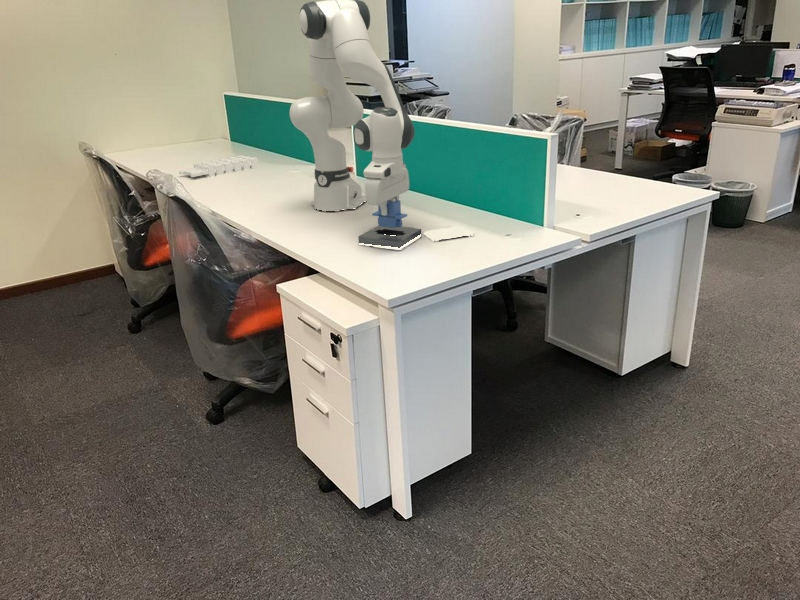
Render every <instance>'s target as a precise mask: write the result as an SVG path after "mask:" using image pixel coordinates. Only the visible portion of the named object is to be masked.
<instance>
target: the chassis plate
mask: <svg viewBox="0 0 800 600" xmlns="http://www.w3.org/2000/svg"><path fill="white" fill-rule="evenodd" d="M384 234H386V235H384ZM420 234H421V235H422V229H421V228H415V227H409V226H402V227H396V228H391V227H383V226H379V225H377V226H375V227H373V228H371V229H369V230H368V231H366V232H364V233H362V234H360V235H358V239H357V240H358V244H359V243H364V244H372V245H381V246H391V247H398V248H400V247H401V246H403V245H404V244H406V243H407V242H409V241H410V240H412V239H414V238H415V237H417V236H418V235H420ZM390 235H396V236H390Z"/></svg>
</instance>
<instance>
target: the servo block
mask: <svg viewBox="0 0 800 600" xmlns="http://www.w3.org/2000/svg"><path fill="white" fill-rule="evenodd" d="M386 206H387V209H389V214H388V215H386V216H384V215H382V214H381V208H380V206H379V205H377V211H375V212H373V213H371V214H372V215H371V216H373V217H378V218H377V224H378V225H377V226H383V227H391V228H396V227H403V219H404V218H406V217H408V213H402V210H401V209H402V208H401V200H400V199H399V200H396V199H395V198H392V199H390V200H388V201H387V204H386Z"/></svg>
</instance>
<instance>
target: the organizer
mask: <svg viewBox="0 0 800 600" xmlns="http://www.w3.org/2000/svg"><path fill="white" fill-rule="evenodd" d="M192 165H193V168H190V169H183V170H179V171H178V172H179V175H185V176H186V175H187V176H189V177H190V178H194V177H199V176H202V175H205V176H204V177H207V176H209V177H208V178H212V177H211V176H214V177H216V176H217V175H219V176H221V175H220V174H223V175H225V173H228V174H231V173H230V172H233V171H238V172H241V171H240V170H242V169H243V170H242V171H246V170H245V169H248V170H251V169H252V168H253V169H257V168H256V167H258V168H259V160H258V157H253V156H248V155H247V156H246V155H237V156H231V157H225V158H220V159H214V160H210V161H204V162H203V161H202V162H198V163H193V164H192ZM233 173H234V172H233Z"/></svg>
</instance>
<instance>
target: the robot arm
mask: <svg viewBox="0 0 800 600" xmlns="http://www.w3.org/2000/svg"><path fill="white" fill-rule="evenodd" d="M298 20H299V27H300V29H301V31H302V34H303V35H304V36H305V37H306V38H308V39H309V43H308V46H309V47H308V49H309V51H308V58H309V60H308V61H309V77H310V79H311V80H312V82H313V83H314V84H315V85H318V86H319V87H321V88H324V89H326V90H327V94H326V95H321V96H320V95H319V96H305V97H302V98H298V99H296V100H293V102H292V103H291V105H290V108H289V119H290V121H291V123H292V124H293V126H294V127H295V129H297V130H299V131H300V132H302V133H303V134H304V135H305V137H307V139H308V140H309V142H310V144H311V146H312V151H313V156H314V165H315V167H314V173H313V174H314V179H315V182H314V183H313V184H314V185H313V201H311V202H312V204H311V206H313V207H314V210H316V209H317V210H316V211H319V210H322V211H321V212H326V211H335V212H338V211H337V210H342V209H353V208H356V207H358V206H359V205H360V204H361V203H363V202H364V201H367V202H366V203H367V205H371V206H378V205H379V206H380V208H381V214H382V215H384V216H386V215H388V214H389V209H387V206H386V204H387V201H388V200H390V199H392V198H395V199H396V200H400V195H402V194H404V193H407V192H408V191H409V189H410V177H409V170H408V168H407V167H406V163H405V162H404V161H403V158H404V157H403V151H402V150H405V149H407V148H408V147H409V146H410V145H411V143H412V142H413V140H414V138H415V126H414V123H413V121H412V119H411V118H410V116H409V114H408V113H407V111H406V108H405V106H404V104H403V101H402V99H401V95H400V93H399V90H398V88H397V86H396V84H395V80H394V78H393V76H392V73H391V71H390V69H389V67H388V66H387V64H386V63H384V62H383V61H381V59H380V58H378V56H377V54H376V52H375V51H374V49H373V47H372V41H371V39H370V35H369V32H368V30H369V29H370V25H371V13H370V9H369V6H368V5H367V4H366V2H365V1H364V0H321V1H313V0H312V1H309V2H306V3H304V4H302V6H301V8H300V10H299V19H298ZM344 75H345V76H347V78H349V79H352V80H354V81H356V82H357V81H358V82H360V83H364V84H366V85H369V86H371V87H372V88H374V89H376V91H377V92H378V93H379V94H380V97H381V100H382V103H383V105H384V106H380V107H379V106H378V107H375V108H374V109H372V111H371V113H370V114H369V115H368V116H366V117H364V110H365V109H364V106H363V103H362V101H361V100H360V98H359V97H358V96H356V95H355V94H354V93H353V92H352V91H351V90H350V89H349V86H348V85H347V82H346V79H345V76H344ZM363 117H364V118H363ZM352 126H354V127H353V132H352V133H353V141H354V144H355V146H356V147H358V148H359V149H360V150H361V151H365V152H372V155H371V161H370V163H369V164H368V165H367V166H366V167H365V168H364V169H363V177H364V178H365V181H364V195H363V192H362V187H361V185H360V184H359V183H358V182H357V181H355V180H354V179H353V178H352V177H351V174H350V173H353V172H354V167H353V166H347V153H346V148H345V145H344V144H343V142H341V141H340V140H338V139H336V138H334V137H332V136H330V135H329V131H328V130H330V129H341V128H343V129H344V128H349V127H352ZM358 208H359V207H358Z"/></svg>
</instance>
